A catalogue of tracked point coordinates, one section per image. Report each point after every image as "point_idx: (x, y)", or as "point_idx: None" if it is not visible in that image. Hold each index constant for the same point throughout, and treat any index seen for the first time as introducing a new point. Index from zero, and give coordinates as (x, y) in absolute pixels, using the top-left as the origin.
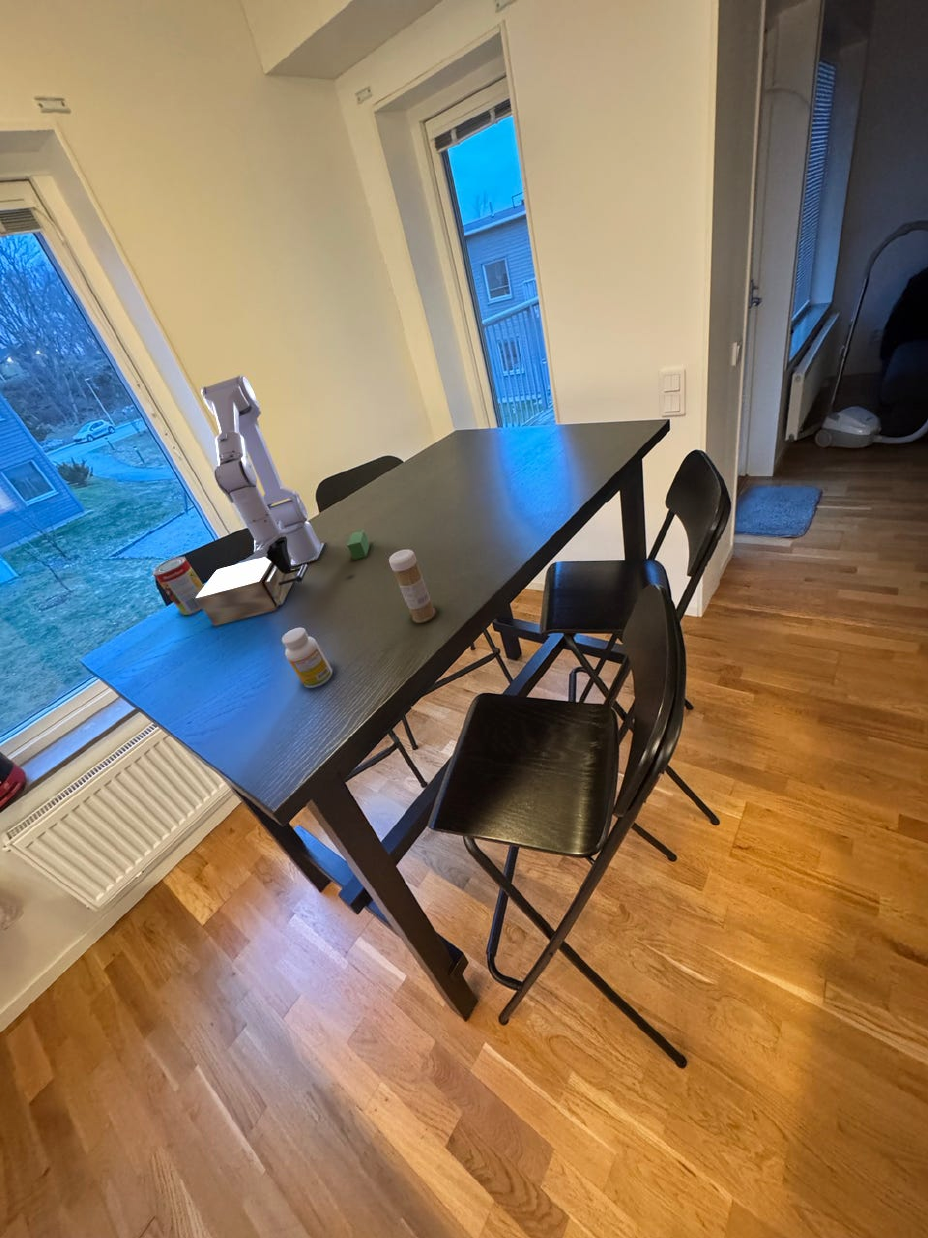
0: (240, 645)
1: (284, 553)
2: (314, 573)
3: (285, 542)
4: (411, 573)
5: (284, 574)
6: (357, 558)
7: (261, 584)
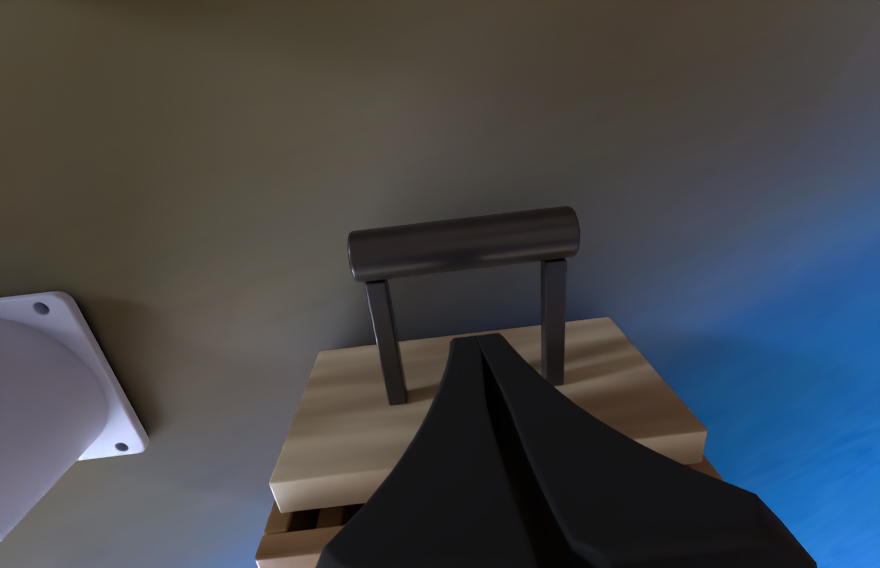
0: (828, 396)
1: (569, 435)
2: (253, 246)
3: (480, 532)
4: None
5: (416, 394)
6: None
7: (713, 472)
